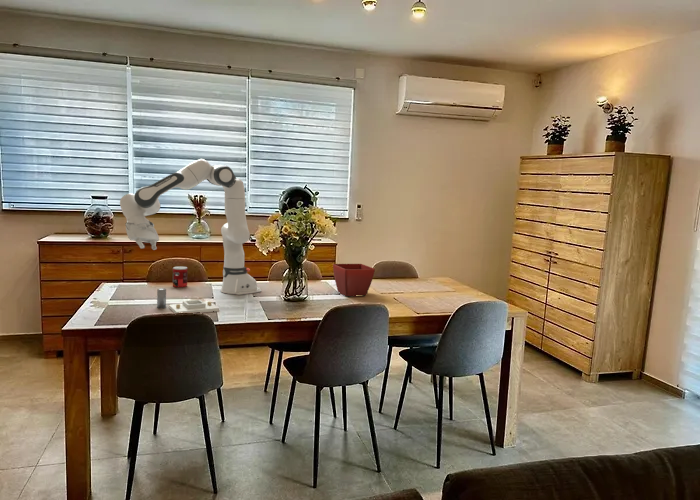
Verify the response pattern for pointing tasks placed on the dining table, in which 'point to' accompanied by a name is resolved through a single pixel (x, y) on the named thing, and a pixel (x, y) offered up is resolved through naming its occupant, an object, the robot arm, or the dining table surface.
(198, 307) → the housing
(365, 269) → the plant pot
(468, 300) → the dining table surface
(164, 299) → the pin
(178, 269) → the canned food
